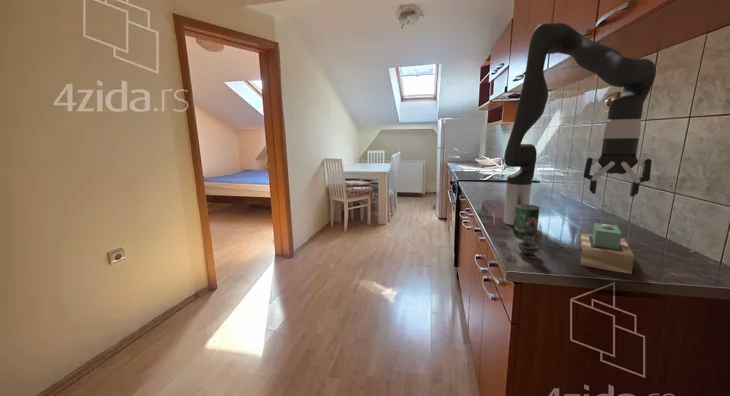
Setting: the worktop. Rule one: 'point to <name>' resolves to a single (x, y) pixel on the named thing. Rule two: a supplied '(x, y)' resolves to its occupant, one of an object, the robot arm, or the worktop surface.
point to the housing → (606, 236)
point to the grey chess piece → (528, 242)
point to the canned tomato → (525, 218)
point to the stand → (606, 255)
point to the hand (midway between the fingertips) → (612, 194)
